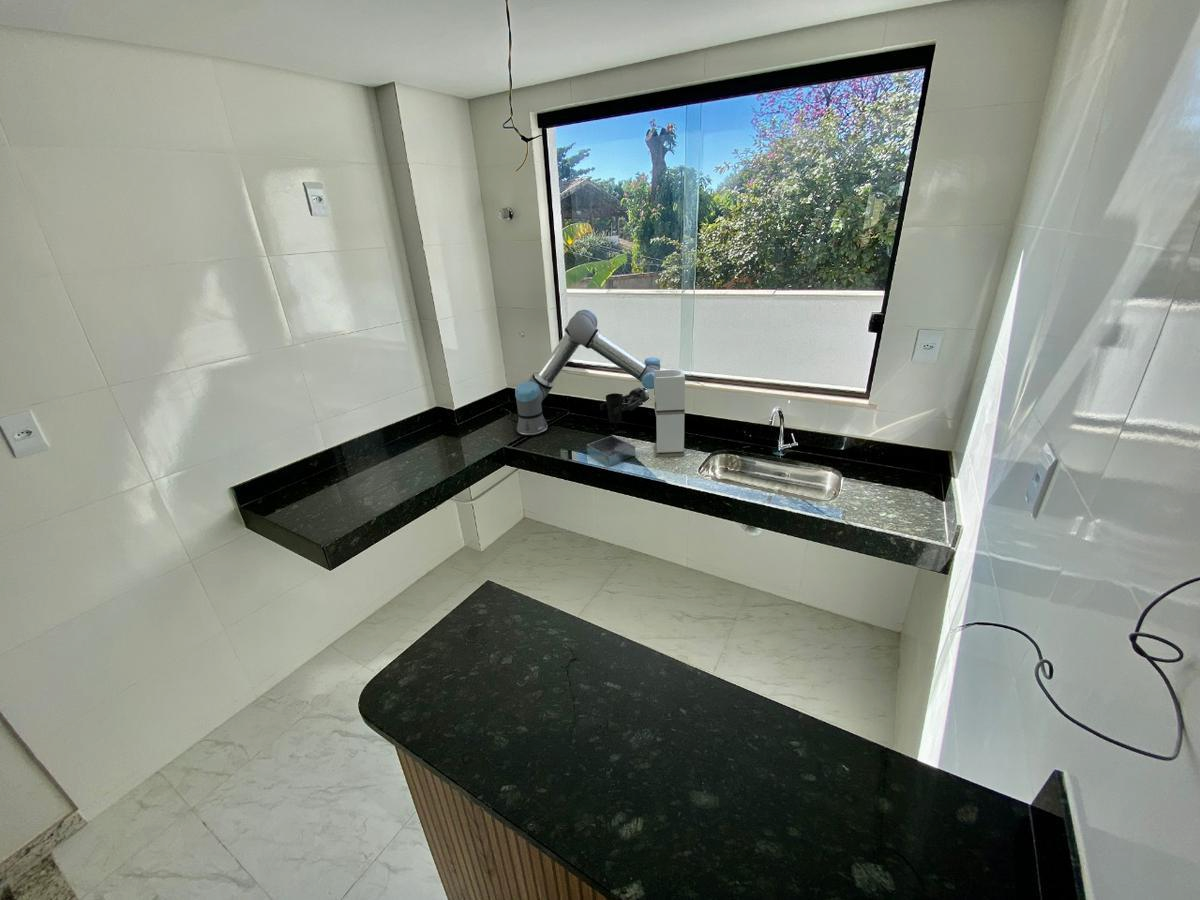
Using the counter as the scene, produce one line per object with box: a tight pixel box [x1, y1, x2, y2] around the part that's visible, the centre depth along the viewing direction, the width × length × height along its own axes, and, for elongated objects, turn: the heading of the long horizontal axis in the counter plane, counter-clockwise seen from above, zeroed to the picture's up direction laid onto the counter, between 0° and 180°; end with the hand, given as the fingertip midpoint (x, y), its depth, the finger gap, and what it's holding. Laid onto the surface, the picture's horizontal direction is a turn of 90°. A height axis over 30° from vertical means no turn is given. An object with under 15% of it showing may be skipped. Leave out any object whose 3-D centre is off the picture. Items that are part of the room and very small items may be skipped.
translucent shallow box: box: [586, 435, 636, 467], centre depth 210 cm, size 16×14×4 cm
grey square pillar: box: [654, 368, 686, 458], centre depth 204 cm, size 11×11×35 cm
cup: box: [605, 392, 624, 424], centre depth 219 cm, size 8×8×12 cm
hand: (607, 409), depth 216 cm, fingers closed on cup, 8 cm apart
